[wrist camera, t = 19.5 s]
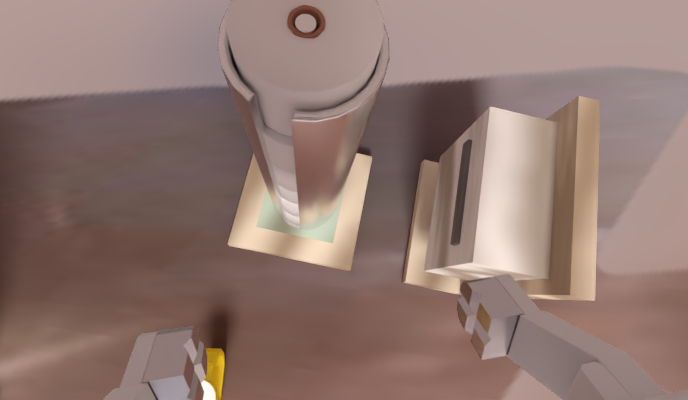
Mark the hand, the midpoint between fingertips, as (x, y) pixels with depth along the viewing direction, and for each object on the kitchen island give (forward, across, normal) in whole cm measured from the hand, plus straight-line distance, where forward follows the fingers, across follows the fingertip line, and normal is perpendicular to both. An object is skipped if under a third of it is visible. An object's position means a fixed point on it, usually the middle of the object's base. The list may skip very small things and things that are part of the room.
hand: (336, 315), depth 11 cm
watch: (+14, +10, +22) cm, 28 cm away
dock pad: (+25, 0, +11) cm, 27 cm away
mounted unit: (+22, -14, +14) cm, 30 cm away
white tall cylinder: (+24, 0, +10) cm, 26 cm away
